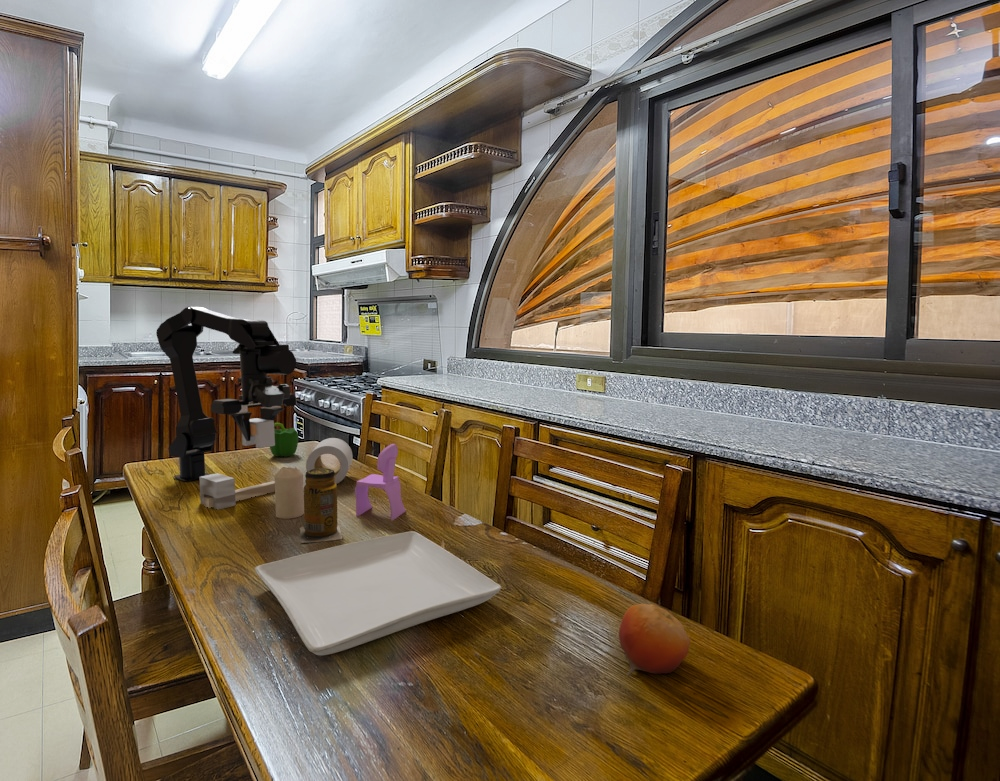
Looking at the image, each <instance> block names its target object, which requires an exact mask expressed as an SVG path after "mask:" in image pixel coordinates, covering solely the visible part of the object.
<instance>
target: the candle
mask: <svg viewBox="0 0 1000 781" xmlns="http://www.w3.org/2000/svg"><path fill="white" fill-rule="evenodd" d="M274 481H275V492H274V499H275V502H274V503H275V504H274V505H275V517H276V518H278V519H281V520H282V519H283V520H285V519H286V520H287V519H295V518H299V517H301V516H304V473H303V472H302V471H301V470H300V469H299V468H297V467H290V466H289V467H286V466H282V467H281V468H279V470H278V471H277V472H276V473H275V474H274Z"/></svg>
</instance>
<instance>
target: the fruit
mask: <svg viewBox="0 0 1000 781" xmlns="http://www.w3.org/2000/svg"><path fill="white" fill-rule="evenodd" d="M618 636H619V644H620V647H621V649H622V650H623V655H625V657H626V659H627V662H628V665H629V668H630V669H629V671H628V672H627V674H628V676H630V675H631V674H632V673H633V672H634V671H635V670H636V671H637V670H638V671H643V672H646V673H650V674H653V675H654V674H656V675H657V674H671V673H672V672H674V671H675V670H676V669H677V668H678V667H679V666H680V665H681V664H682V662H683V661H684V660H685V658H686V657H687V655H688V653H689V648H690V644H691V638H690V636H689V635H688V634H687V632H686V630H685V627H684V625H683V624H682V623H681V621H679V620H678V618H677V617H675V616H674V615H673V614H672V613H671V612H669V611H668V610H666V609H664V608H662V607H660V606H657V605H656V604H652V603H651V604H647V603H638V604H637V603H635V604H634V605H632V606H630V607H628V608H627V610H626V611H625V613H624V615H623V618H622V620H621V622H620V626H619V630H618Z"/></svg>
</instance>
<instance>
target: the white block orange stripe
mask: <svg viewBox="0 0 1000 781" xmlns="http://www.w3.org/2000/svg"><path fill="white" fill-rule="evenodd" d="M274 423H275V420H274V421H273V420H266V419H261V418H258V417H256V418H255V417H254V418H250V433H251V437H250V441H246V439H245V437H244V435H243V434H242V433H241V443H242V446H245V447H248V446H252V445H255V448H256V449H264V448H270V446H275V434H274V429H275V426H274Z"/></svg>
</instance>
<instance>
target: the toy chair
mask: <svg viewBox="0 0 1000 781" xmlns="http://www.w3.org/2000/svg"><path fill="white" fill-rule="evenodd" d="M398 450H399V449H398V446H397V444H396V443H391V444H389V445H387V446H386V447H385V448H383V449H382V451H380V453H379V454H378V457H377V459H376V460H377V461H376V462H377V463H376V464H377V465H376V467H377V468H376V469H377V471H380V472H381V473H382V474H381V475H380V474H375V473H371V474H369V475H367V476H366V477H364V478H362V479H359V480H357V481H356V486H355V487H354V494H355V516H356V517H359V516H361V515H362V514H364V513H365V512H367V511H368V510H371V509H372V508H373V505H372V503H371V501H370V498H369V487H370V488H376V489H380V490H381V489H382V490H384V491H385V493H386V496H387V498H388V501H389V502H388V503H389V506H390V521H394V520H395V519H397V518H399V516H401V515H402V514H404V513H405V512H406V508H405V506H404V504H403V500H402V495H401V493H402V491H401V487H402V486H401V481H400V478H399V476H396V475H395V469H396V468H395V467H396V458H398V453H399V452H398Z"/></svg>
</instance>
